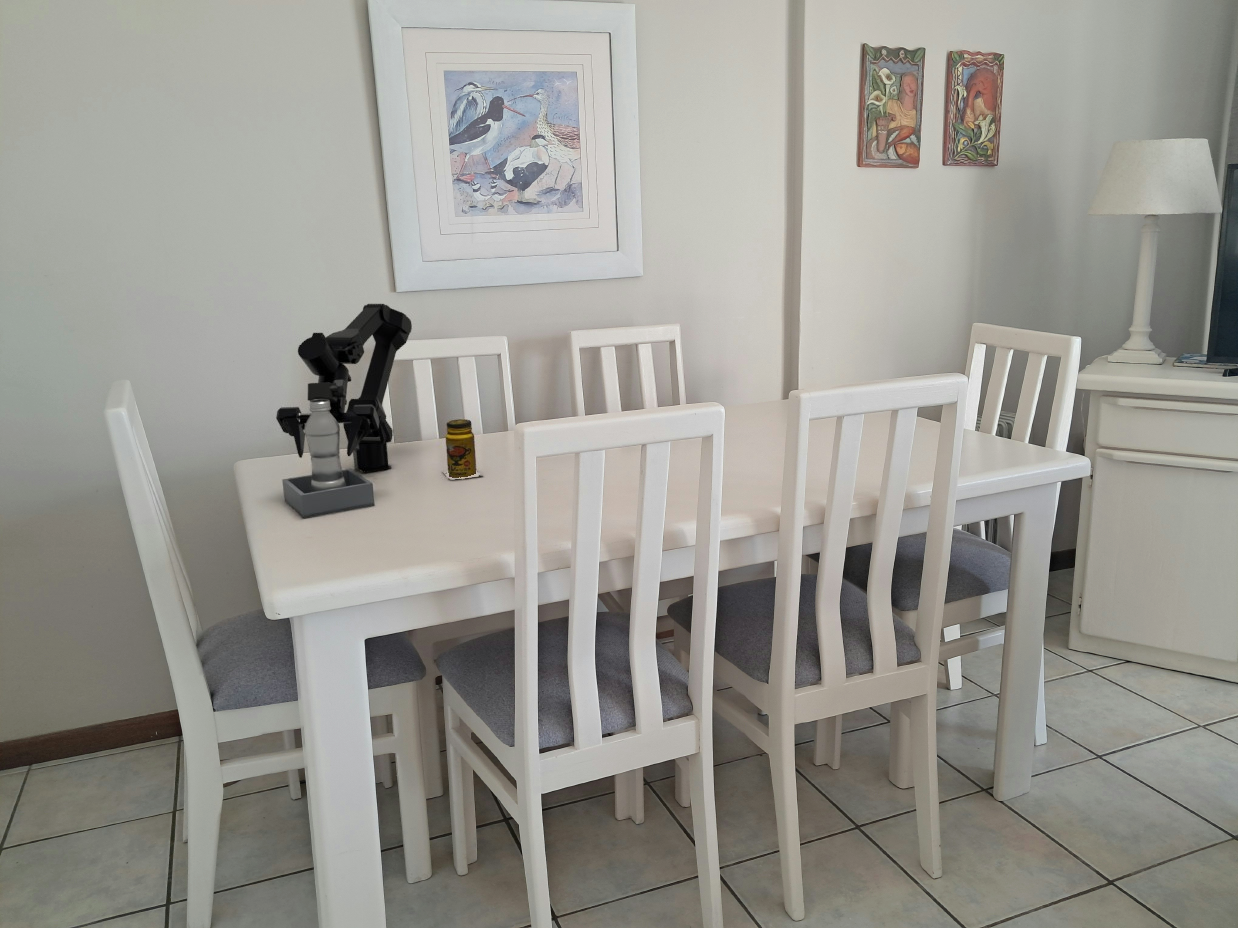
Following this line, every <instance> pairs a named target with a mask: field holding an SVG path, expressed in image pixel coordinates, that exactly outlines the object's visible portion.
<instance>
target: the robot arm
mask: <svg viewBox="0 0 1238 928" xmlns="http://www.w3.org/2000/svg"><path fill="white" fill-rule="evenodd" d="M412 325H413V324H412V321H411V318H409V317H408V316H407V315H406V314H405V313H403V312H401V311H399V310H396V309H393V308H391V307H390V306H389V305H387V304H385V303H366V304H364V305H363V308H362V311H360V313H359V314H357V316H356V317H355V318H354V319H353V320H352V321H351V322H350V323H349V324H348V325H347V326H346V327H345V328H344V329H342V330H338V331H335V332H332V333H330V334H329V335H328V336H326V335H325V334H324V332H313V333H312V335H311V336H310V337H308V338H306V339H305V340H303V341H302V342H301V343H300V344H299V345H298V347H297V354H298V356H299V357H300V359H301V360H302V362H303V363H304V364H305V365H306V367H307V369H309V371H310V372H311V373H312V374H313V375H315V376H318V378H317V379H318V380H317V382H309V383H307V401H309V402H310V401H311V400H316V399H328V400H329V401H330V407H331V410H329V411H330V413H331V414H332V416H333V417H334V418H335V419H336V420H337V422H338V424H342V425H343V430H344V432H345V433H344V434H345V436H346V440H347V446H346V455H347V457H351V455H352V454H353V455H352V456H353V467H354V468H355V469H357V470H358V471H359V472H362V473H363V474H365V473H371V472H377V471H383V470H388V469H389V470H390V469H392V465H390V464H389V457H388V445H387V443H391V442H392V440H393V436H394V435H393V428H392V427H391V425H390V424H389V423H388V421H387V414H386V412H385V409H384V407H383V402H384V398H385V395H386V392H387V391H386V390H387V387H388V383H389V381H390V377H391V373H392V368H393V365H394V361H395V357H396V353H397V352H398V351H399V350H400V349H401V348H402V347H403V346H405V345H406V344H407V341H408V339H409V335H410V334H411V332H412V329H413V328H412ZM371 337H372V338H373V341H374V342H375V344H374V348H373V351H372V354H371V358H370V361H369V366H368V369H367V371H366V376H365V379H364V383H363V386H362V390H361V393H360V396H359V397H358V398H350V400H349V402H348V400H347V394H348V393H347V391H348V384H349V383H351V382H352V377H351V374H349V373H350V371H349V369H348V367H347V366H346V365H357V364H359V362H360V361H361V359H362V358H363V355H364V353H365V348H364V346H365V343H367V342H368V341H369V339H370V338H371ZM347 403H348V404H347ZM347 405H348V406H347ZM346 406H347V408H346ZM345 410H346V411H345ZM311 413H312V412H310V413H309V412H305V413H304V412H303V413H302V411H301V409H300V407H299V406H293V407H292V406H288V407H287V406H286V407H285V406H284V407H282V406H281V407H279V409H278V410H277V411H276V417H275V418H276V421H277V422H278V424H279V426H280V428H281V430H282V432H283V433H286V434H288V435H289V436H290V437H293V439H294V442H295V447H296V451H297V455H298V457H299V458H300V459H302V458H303V456H304V449H305V443H306V442H305V440H306V434H305V430H304V429H305V424H306V422H307V420H308V418H309V417H310V415H311Z"/></svg>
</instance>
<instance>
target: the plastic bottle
mask: <svg viewBox="0 0 1238 928" xmlns="http://www.w3.org/2000/svg"><path fill="white" fill-rule="evenodd" d="M329 410H331V407H330V401H329V400H328V399H316V400H311V401H309V412H310V413H311V415H310V417H309V418H308V420H307V422H306V424H305V429H304V430H303V431H304V433H305V440H306V442H307V447H308V450H309V455H310V462H311V475H312V481H311V492H317V491H323V490H329V489H335V488H341V487H346V483H345V480H344V477H343V473H342V470H343V469H342V464H341V455H340V454H341V453H340V435H341V433H340V432H341V429H340V428H341V427H340V423H338V422H337V420H336V419H335V418H334V417H333V416H332V414H331V413H330V411H329Z"/></svg>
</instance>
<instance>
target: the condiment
mask: <svg viewBox="0 0 1238 928" xmlns="http://www.w3.org/2000/svg"><path fill="white" fill-rule="evenodd" d="M472 424H473V423H472V421H471V420H469V419H465V418H463V419H462V418H461V419H452V420H449V421H447V422H446V432H447V433H446V434H445V447H446V448H445V449H446V465H447V471H448V473H449V477H452V478H459V477H460V478H461V477H468V476H471V475H474V474H476V470H477V457H476V443H475V434H474V432H473V427H472V426H473V425H472ZM445 474H447V472H446V473H445Z"/></svg>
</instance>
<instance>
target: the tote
mask: <svg viewBox="0 0 1238 928" xmlns="http://www.w3.org/2000/svg"><path fill="white" fill-rule="evenodd" d="M342 473H343V477H344V480H345V483H346V487H341V488H335V489H329V490H323V491H317V492H311V481H312V474H308V475H301V476H296V477H289V478H284V479H281V482H282V488H283V498H284V499H283V500H284V502H285V503H286V505H288V506H289V507H290V508H291V509H292V510H294V511H295V513H297V514H298V515H299V516H300V517H301V518H302V519H309V518H313V517H320V516H326V515H330V514H337V513H341V512H346V511H352V510H353V511H354V510H358V509H363V508H369V507H374V506H375V505H376V504H375V494H374V493H375V492H374V491H375V490H374V483H373V482H372V481H370V480H369V479H367V478H365V477H364V476H363V475H361V474H360V473H358V472H356V471H355V470H353V469H352V468H345V469H342ZM375 507H376V506H375Z"/></svg>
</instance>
